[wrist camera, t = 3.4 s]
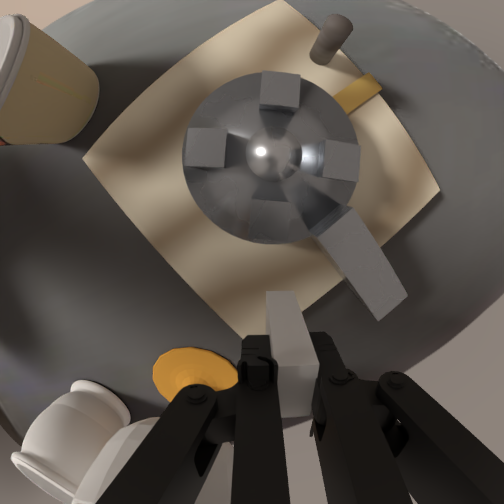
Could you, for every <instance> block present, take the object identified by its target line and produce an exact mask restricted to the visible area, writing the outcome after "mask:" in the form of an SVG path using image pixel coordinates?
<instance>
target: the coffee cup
mask: <svg viewBox="0 0 504 504" xmlns="http://www.w3.org/2000/svg"><path fill="white" fill-rule="evenodd" d="M99 90H100V87H99V81H98V78H97V76H96V74H95V73H94V72H93V70H92V69H90V68H89V67H88V66H87V65H86V64H85V63H83V62H82V61H81V60H80V59H78V58H77V57H76V56H75V55H73V54H72V53H71V52H69V51H68V50H67V49H66V48H64V47H63V46H62V45H60V44H59V43H58V42H56V41H55V40H54V39H53V38H51V37H50V36H48V35H47V34H46V33H44V32H43V31H41V30H40V29H38V28H37V27H36V26H34V25H33V24H31V23H30V22H29V20H28V19H27V18H26V17H25V16H23V15H21V14H13V15H5V16H3V17H1V18H0V146H3V145H24V144H58V143H63V142H66V141H68V140H71V139H72V138H74V137H75V136H76V135H77V134H78V133H80V132H81V131H82V129H83V128H84V127H85V126H86V125H87V123H88V122H89V120H90V119H91V117H92V115H93V113H94V111H95V108H96V106H97V102H98V99H99Z"/></svg>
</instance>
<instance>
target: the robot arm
mask: <svg viewBox="0 0 504 504" xmlns="http://www.w3.org/2000/svg"><path fill="white" fill-rule="evenodd" d="M237 373H238V382H237V383H236V384H235V385H234V386H232V387H230V388H228V389H225V390H220V391H215V390H214V389H212V388H211V387H210V386H207V385H204V384H191V385H188V386H185V387H183V388H182V389H181V390H180V391H179V392H178V393H177V394H176V396H175V397H174V398H173V400H172V401H171V403H170V404H169V405H168V407H167V408H166V410H165V411H164V412H163V414H162V415H161V416H160V418H159V419H158V421H157V422H156V423H155V425H154V426H153V427H152V429H151V430H150V432H149V433H148V434H147V436H146V437H145V438H144V440H143V441H142V442H141V444H140V445H139V446H138V448H137V449H136V450H135V452H134V453H133V454H132V456H131V457H130V458H129V460H128V461H127V462H126V464H125V465H124V466H123V468H122V469H121V470H120V472H119V473H118V474H117V476H116V477H115V478H114V480H113V481H112V482H111V484H110V485H109V486H108V487H107V489H106V490H105V491H104V493H103V494H102V495H101V497H100V498H99V499H98V500H97V502H96V503H95V504H194V503H195V501H196V499H197V497H198V495H199V493H200V491H201V489H202V487H203V485H204V483H205V481H206V479H207V477H208V474H209V472H210V470H211V468H212V466H213V464H214V462H215V459H216V457H217V455H218V453H219V451H220V448H221V446H222V443H225V442H230V441H234V454H233V470H232V487H231V504H290V496H289V487H288V476H287V467H286V457H285V447H284V438H283V429H282V420H281V418H288V417H302V416H310V414H311V409H312V410H313V415H314V417H313V421H312V426H311V430H310V437H312V436H313V432H314V437H315V441H316V446H317V451H318V456H319V461H320V466H321V470H322V476H323V481H324V486H325V491H326V496H327V501H328V504H413V503H412V500H411V497H410V495H409V493H410V494H411V496H412V497H413V498H414V499H415V501H416V502H417V503H418V504H504V463H503V462H502V461H501V460H500V459H499V458H498V457H497V456H496V455H495V454H493V453H492V452H491V451H490V450H489V449H488V448H487V447H486V446H485V445H484V444H482V442H481V441H479V440H478V439H477V438H476V437H475V436H474V435H473V434H472V433H471V432H470V431H469V430H467V429H466V428H465V427H464V426H463V425H462V424H461V423H460V422H459V421H458V420H456V419H455V418H454V417H453V416H452V415H451V414H450V413H449V412H448V411H447V410H445V409H444V408H443V407H442V406H441V405H440V404H439V403H438V402H437V401H435V400H434V399H433V398H432V397H431V396H430V395H429V394H428V393H426V392H425V391H424V390H423V389H422V388H421V387H420V386H419V385H418V384H417V383H415V382H414V381H413V380H412V379H411V378H410V377H409V376H407V375H406V374H404V373H401V372H395V371H391V372H386V373H384V374H383V375H381V377H380V379H379V381H366V380H360V379H358V377H357V376H356V374H355V373H354V372H353V371H351V370H349V369H346V368H345V366H344V363H343V361H342V359H341V357H340V355H339V353H338V350H337V348H336V346H335V345H334V342H333V340H332V338H331V337H330V336H329V335H328V334H327V333H325V332H308V329H307V327H306V324H305V321H304V318H303V315H302V312H301V310H300V307H299V304H298V301H297V299H296V296H295V293H294V291H266V335H247V336H246V337H245V338H244V339H243V341H242V352H241V360H240V361H239V362H238V365H237ZM397 419H398V420H399V421H400V422H401V423H400V422H399V421H398V420H397Z"/></svg>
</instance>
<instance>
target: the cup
mask: <svg viewBox="0 0 504 504" xmlns="http://www.w3.org/2000/svg"><path fill="white" fill-rule="evenodd" d="M153 381H154V383H155V385H156V387H157V389H158V391H159V392H160V393H161V394H162V395H163V396H164V397H165V398H166V399H167V400H168V401H169V402H171V401H172V400H173V398H174V397H175V396H176V394H177V393H178V392H179V391H180V390H181V389H182V388H183V387H185V386H188V385H191V384H204V385H207V386H210V387H211V388H212V389H214V390H215V391H220V390H225V389H228V388H230V387H232V386H234V385H235V384H236V383H237V382H238V373H237V370H236V369H235V368H234V367H233V365H232V364H231V363H230V362H229V361H228V360H227V359H225V358H223V357H221V356H219V355H217V354H216V353H214V352H212V351H208V350H204V349H199V348H194V347H186V348H175V349H172V350H170V351H168V352H166V353H164V354H162V355H161V356H160V357H159V358H158V360H157V362H156V363H155V365H154V366H153ZM159 418H160V417H151V418H148V419H145V420H141V421H138V422H135V423H133V424H131V425H128V426H126V427H124V428H121V429H120V430H119V431H118V432H117V433H116V434H115V435H114V436H113V437H112V438H111V439H110V440H109V441H108V442H107V443H106V445H105V446H104V448H103V449H102V451H101V452H100V454H99V455H98V457H97V458H96V460H95V461H94V463H93V464H92V466H91V467H90V469H89V470H88V472H87V473H86V475H85V477H84V479H83V481H82V483H81V485H80V486H79V488H78V490H77V492H76V494H75V496H74V498H73V500H72V502H71V503H72V504H95V503H96V502H97V500H98V499H99V498H100V497H101V495H102V494H103V493H104V491H105V490H106V489H107V487H108V486H109V485H110V484H111V482H112V481H113V480H114V478H115V477H116V476H117V474H118V473H119V472H120V470H121V469H122V468H123V466H124V465H125V464H126V462H127V461H128V460H129V458H130V457H131V456H132V454H133V453H134V452H135V450H136V449H137V448H138V446H139V445H140V444H141V442H142V441H143V440H144V438H145V437H146V436H147V434H148V433H149V432H150V430H151V429H152V427H153V426H154V425H155V423H156V422H157V421H158V419H159ZM233 454H234V447H233V446H232V445H231V444H230V443H229V442H225V443H222V446H221V448H220V451H219V453H218V455H217V457H216V459H215V462H214V464H213V466H212V468H211V470H210V472H209V474H208V477H207V479H206V481H205V483H204V485H203V487H202V489H201V491H200V493H199V495H198V497H197V499H196V501H195V503H194V504H231V487H232V470H233Z"/></svg>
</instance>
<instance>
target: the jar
mask: <svg viewBox="0 0 504 504" xmlns="http://www.w3.org/2000/svg"><path fill="white" fill-rule="evenodd" d="M130 419H131V417H130V413H129V410H128V409H127V407H126V406H125V404H124V403H123V402H122V401H121V400H120V399H119V398H118V397H117V396H116V395H115V394H114V393H112V392H111V391H110V390H108V389H106V388H105V387H103V386H101V385H99V384H97V383H94V382H92V381H88V380H78V381H76V382H74V383H73V384H72V386H71V392H69V393H67V394H64V395H62V396H61V397H59V398H58V399H57V400H55V401H54V402H53V403H52V404H51V405H50V406H49V407H48V408H46V409H45V410H44V411H43V412H42V413H41V414H40V415H39V416H38V417H37V418H36V419H35V421H34V422H33V423H32V425H31V426H30V428H29V430H28V432H27V434H26V436H25V438H24V441H23V444H22V450H21V452H14V453H13V454H12V456H11V460H12V462H13V463H14V464H15V466H16V467H17V468H18V469H19V470H20V471H21V472H22V473H23V474H24V475H25V476H26V477H27V478H28V479H29V480H31V481H32V482H33V483H34V484H35V485H37V486H38V487H39V488H41V489H42V490H43V491H45V492H46V493H48V494H49V495H51V496H52V497H54V498H55V499H57V500H59V501H61V502H62V503H64V504H72V503H71V502H72V500H73V498H74V496H75V494H76V492H77V490H78V488H79V486H80V485H81V483H82V481H83V479H84V477H85V475H86V473H87V472H88V470H89V469H90V467H91V466H92V464H93V463H94V461H95V460H96V458H97V457H98V455H99V454H100V452H101V451H102V449H103V448H104V446H105V445H106V443H107V442H108V441H109V440H110V439H111V438H112V437H113V436H114V435H115V434H116V433H117V432H118V431H119V430H120V429H121V428H124V427H126V426H127V425H128V424H129V422H130Z"/></svg>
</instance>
